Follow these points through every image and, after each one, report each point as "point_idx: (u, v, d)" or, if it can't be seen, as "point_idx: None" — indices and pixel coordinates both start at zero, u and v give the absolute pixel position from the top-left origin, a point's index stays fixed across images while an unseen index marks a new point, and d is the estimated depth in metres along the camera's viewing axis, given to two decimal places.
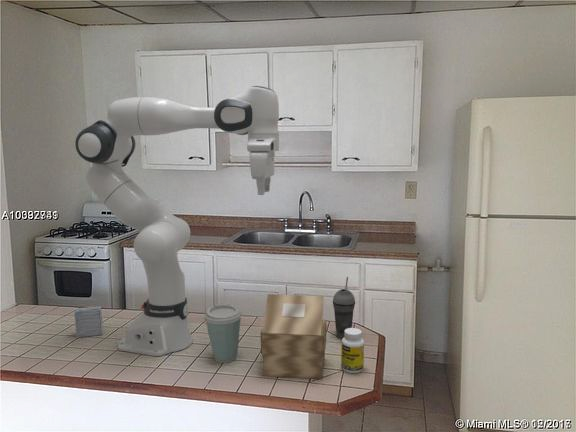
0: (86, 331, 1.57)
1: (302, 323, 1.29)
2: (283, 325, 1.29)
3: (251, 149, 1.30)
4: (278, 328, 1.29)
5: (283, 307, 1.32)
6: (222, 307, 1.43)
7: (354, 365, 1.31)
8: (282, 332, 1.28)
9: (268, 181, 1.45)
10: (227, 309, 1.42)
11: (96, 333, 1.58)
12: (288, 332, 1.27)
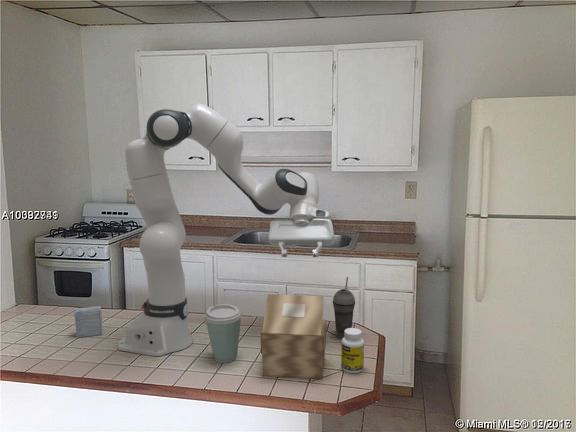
0: (86, 331, 1.57)
1: (302, 323, 1.29)
2: (283, 325, 1.29)
3: (329, 217, 1.49)
4: (278, 328, 1.29)
5: (283, 307, 1.32)
6: (222, 307, 1.43)
7: (354, 365, 1.31)
8: (282, 332, 1.28)
9: (282, 248, 1.48)
10: (227, 309, 1.42)
11: (96, 333, 1.58)
12: (288, 332, 1.27)
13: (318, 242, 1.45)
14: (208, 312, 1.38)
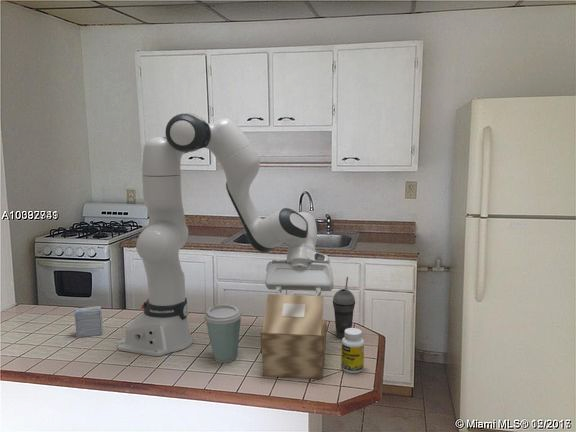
0: (86, 331, 1.57)
1: (302, 323, 1.29)
2: (283, 325, 1.29)
3: (328, 261, 1.44)
4: (278, 328, 1.29)
5: (283, 307, 1.32)
6: (222, 307, 1.43)
7: (354, 365, 1.31)
8: (282, 332, 1.28)
9: (280, 293, 1.42)
10: (227, 309, 1.42)
11: (96, 333, 1.58)
12: (288, 332, 1.27)
13: (317, 288, 1.40)
14: (208, 312, 1.38)
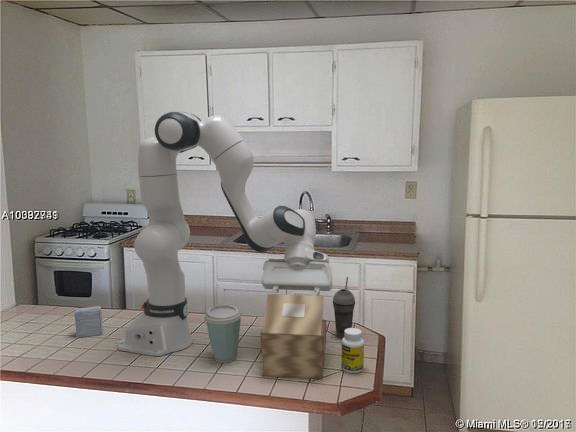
0: (86, 331, 1.57)
1: (302, 323, 1.29)
2: (283, 325, 1.29)
3: (327, 260, 1.39)
4: (278, 328, 1.29)
5: (283, 307, 1.32)
6: (222, 307, 1.43)
7: (354, 365, 1.31)
8: (282, 332, 1.28)
9: None
10: (227, 309, 1.42)
11: (96, 333, 1.58)
12: (288, 332, 1.27)
13: (315, 288, 1.36)
14: (208, 312, 1.38)
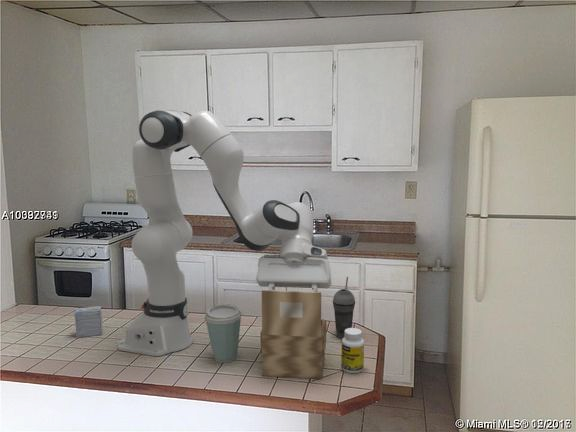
0: (86, 331, 1.57)
1: (301, 324, 1.26)
2: (282, 326, 1.27)
3: (326, 256, 1.31)
4: (277, 330, 1.27)
5: (280, 306, 1.26)
6: (222, 307, 1.43)
7: (354, 365, 1.31)
8: (282, 334, 1.27)
9: None
10: (227, 309, 1.42)
11: (96, 333, 1.58)
12: (288, 334, 1.27)
13: (313, 285, 1.28)
14: (208, 312, 1.38)
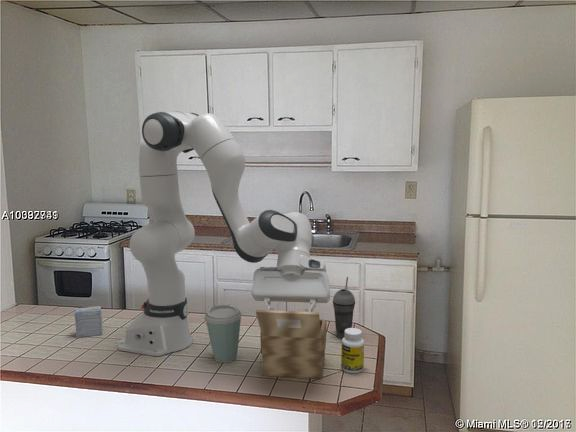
0: (86, 331, 1.57)
1: (300, 331, 1.24)
2: (281, 332, 1.26)
3: (324, 269, 1.25)
4: (277, 333, 1.27)
5: (277, 321, 1.22)
6: (222, 307, 1.43)
7: (354, 365, 1.31)
8: (282, 336, 1.27)
9: (268, 305, 1.24)
10: (227, 309, 1.42)
11: (96, 333, 1.58)
12: (288, 336, 1.27)
13: (311, 300, 1.22)
14: (208, 312, 1.38)
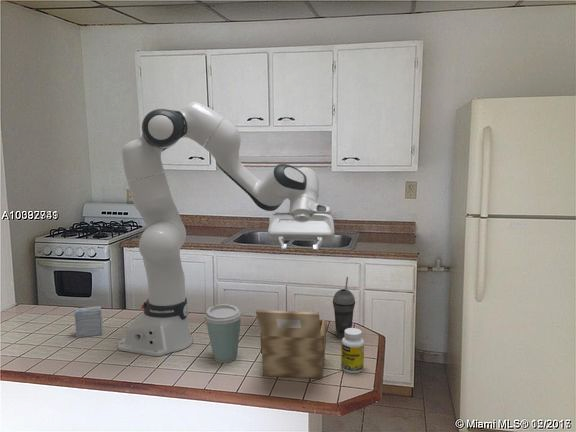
0: (86, 331, 1.57)
1: (300, 331, 1.24)
2: (281, 332, 1.26)
3: (330, 213, 1.47)
4: (277, 333, 1.27)
5: (277, 321, 1.22)
6: (222, 307, 1.43)
7: (354, 365, 1.31)
8: (282, 336, 1.27)
9: (282, 242, 1.46)
10: (227, 309, 1.42)
11: (96, 333, 1.58)
12: (288, 336, 1.27)
13: (318, 237, 1.44)
14: (208, 312, 1.38)
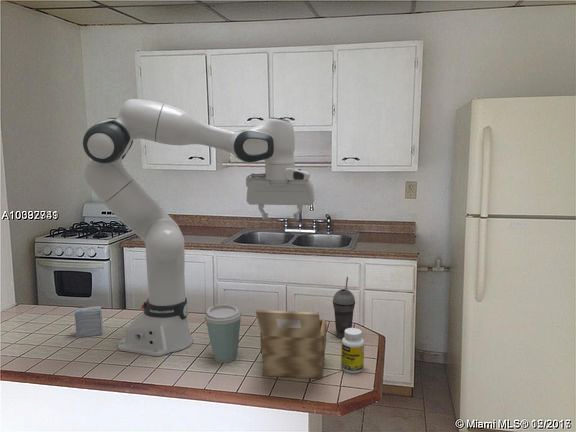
0: (86, 331, 1.57)
1: (300, 331, 1.24)
2: (281, 332, 1.26)
3: (308, 178, 1.41)
4: (277, 333, 1.27)
5: (277, 321, 1.22)
6: (222, 307, 1.43)
7: (354, 365, 1.31)
8: (282, 336, 1.27)
9: (262, 209, 1.47)
10: (227, 309, 1.42)
11: (96, 333, 1.58)
12: (288, 336, 1.27)
13: (298, 206, 1.43)
14: (208, 312, 1.38)
